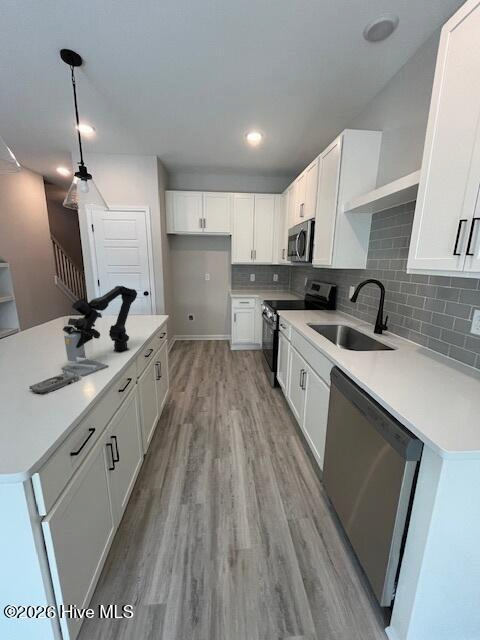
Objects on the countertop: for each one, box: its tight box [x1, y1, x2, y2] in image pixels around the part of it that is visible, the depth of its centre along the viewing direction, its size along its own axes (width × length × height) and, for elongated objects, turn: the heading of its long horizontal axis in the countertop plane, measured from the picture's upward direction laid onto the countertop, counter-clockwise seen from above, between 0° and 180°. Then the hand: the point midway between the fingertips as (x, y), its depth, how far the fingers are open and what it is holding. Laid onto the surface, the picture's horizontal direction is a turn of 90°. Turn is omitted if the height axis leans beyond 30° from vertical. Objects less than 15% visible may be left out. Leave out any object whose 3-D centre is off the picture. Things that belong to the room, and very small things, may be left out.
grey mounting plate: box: [60, 358, 109, 378], centre depth 131 cm, size 13×18×2 cm
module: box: [63, 333, 87, 363], centre depth 127 cm, size 6×5×12 cm
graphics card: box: [28, 370, 82, 394], centre depth 113 cm, size 17×4×12 cm
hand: (72, 347), depth 126 cm, fingers closed on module, 5 cm apart
